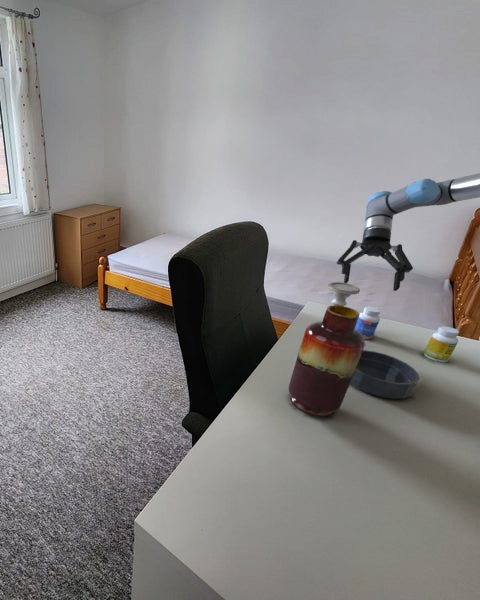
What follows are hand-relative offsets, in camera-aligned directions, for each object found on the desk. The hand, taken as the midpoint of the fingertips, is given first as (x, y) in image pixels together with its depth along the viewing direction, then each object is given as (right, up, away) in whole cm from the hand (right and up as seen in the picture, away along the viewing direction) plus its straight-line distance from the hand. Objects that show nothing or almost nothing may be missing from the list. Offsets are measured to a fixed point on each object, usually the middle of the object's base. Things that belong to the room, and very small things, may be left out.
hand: (370, 285), depth 115 cm
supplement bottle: (+7, -22, -14) cm, 27 cm away
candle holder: (-21, -20, -7) cm, 29 cm away
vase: (-41, -31, -31) cm, 60 cm away
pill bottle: (-5, -17, -2) cm, 18 cm away
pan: (-19, -27, -23) cm, 40 cm away
